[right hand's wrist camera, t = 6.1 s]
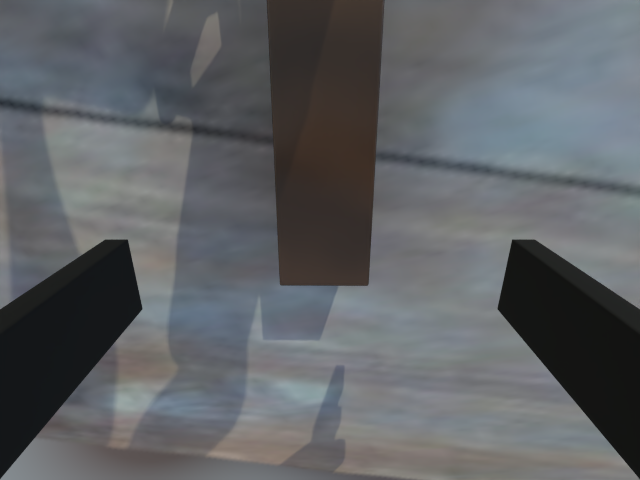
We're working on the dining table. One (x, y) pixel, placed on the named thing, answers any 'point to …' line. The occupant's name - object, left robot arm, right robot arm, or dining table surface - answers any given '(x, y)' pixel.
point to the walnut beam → (325, 135)
